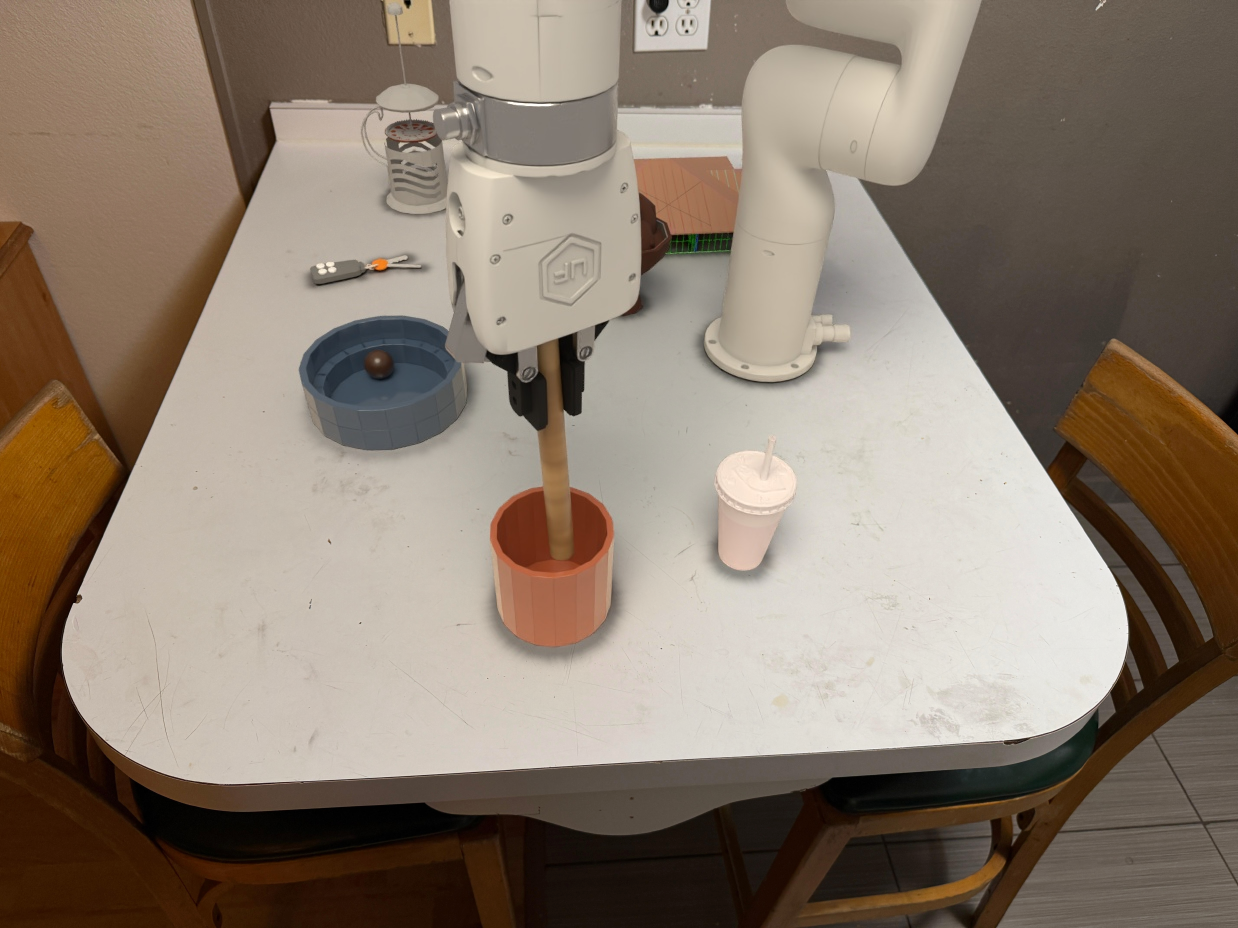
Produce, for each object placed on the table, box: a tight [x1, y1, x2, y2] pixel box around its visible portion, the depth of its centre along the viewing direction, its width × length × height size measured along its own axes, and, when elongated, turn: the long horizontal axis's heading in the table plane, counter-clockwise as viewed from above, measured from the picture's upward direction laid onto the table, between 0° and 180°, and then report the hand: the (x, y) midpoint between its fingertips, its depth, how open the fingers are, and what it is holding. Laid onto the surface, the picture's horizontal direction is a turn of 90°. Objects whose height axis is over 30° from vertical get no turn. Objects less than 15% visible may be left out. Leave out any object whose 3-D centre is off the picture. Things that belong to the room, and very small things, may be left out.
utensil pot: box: [489, 485, 615, 648], centre depth 63 cm, size 9×9×9 cm
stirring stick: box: [536, 339, 575, 561], centre depth 54 cm, size 2×2×18 cm
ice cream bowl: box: [619, 192, 673, 317], centre depth 93 cm, size 11×11×15 cm
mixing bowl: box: [298, 314, 468, 451], centre depth 81 cm, size 15×15×6 cm
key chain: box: [309, 254, 422, 285], centre depth 101 cm, size 13×4×2 cm, turn 114°
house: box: [634, 155, 742, 255], centre depth 112 cm, size 23×33×8 cm
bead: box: [364, 350, 394, 379], centre depth 84 cm, size 3×3×3 cm
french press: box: [360, 2, 448, 215], centre depth 107 cm, size 10×12×25 cm
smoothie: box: [713, 435, 798, 571], centre depth 65 cm, size 6×6×14 cm
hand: (547, 409), depth 52 cm, fingers closed on stirring stick, 1 cm apart
